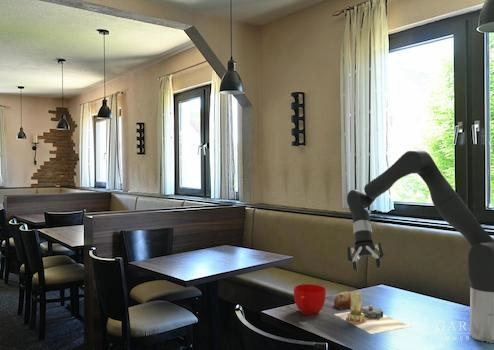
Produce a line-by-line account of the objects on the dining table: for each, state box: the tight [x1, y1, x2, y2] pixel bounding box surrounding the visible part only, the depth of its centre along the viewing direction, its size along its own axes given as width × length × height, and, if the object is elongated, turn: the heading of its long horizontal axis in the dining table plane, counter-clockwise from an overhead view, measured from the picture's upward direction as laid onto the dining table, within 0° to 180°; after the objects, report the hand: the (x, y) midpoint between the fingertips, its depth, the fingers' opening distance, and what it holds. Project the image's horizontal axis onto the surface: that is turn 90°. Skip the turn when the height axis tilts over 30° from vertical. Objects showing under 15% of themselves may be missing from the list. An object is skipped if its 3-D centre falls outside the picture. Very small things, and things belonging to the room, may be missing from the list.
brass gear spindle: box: [348, 291, 364, 322], centre depth 165 cm, size 6×6×10 cm
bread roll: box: [333, 291, 351, 311], centre depth 186 cm, size 10×10×8 cm
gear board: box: [333, 304, 412, 335], centre depth 165 cm, size 22×18×5 cm
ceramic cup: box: [293, 283, 327, 316], centre depth 176 cm, size 13×17×10 cm
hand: (367, 270), depth 175 cm, fingers open, 8 cm apart
